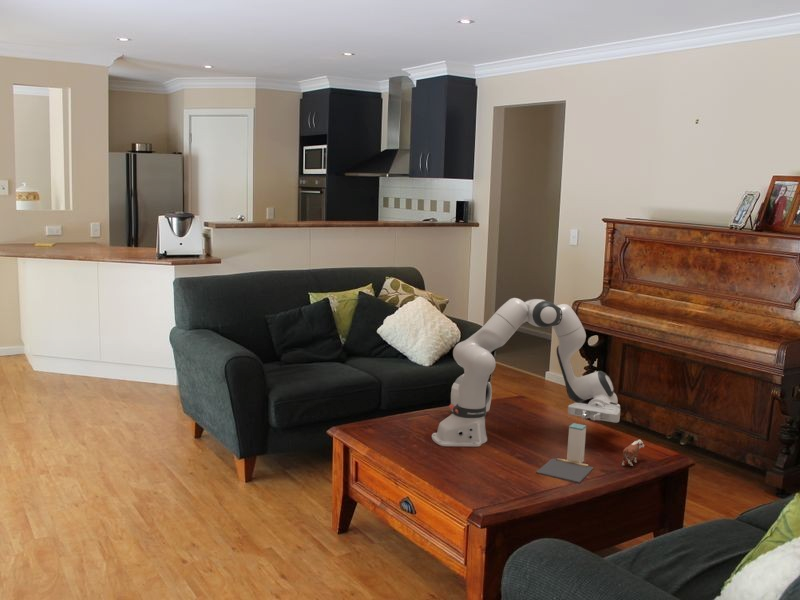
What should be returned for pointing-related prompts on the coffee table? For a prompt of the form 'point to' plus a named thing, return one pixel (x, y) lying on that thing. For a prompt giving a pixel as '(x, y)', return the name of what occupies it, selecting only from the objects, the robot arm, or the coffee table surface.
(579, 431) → the cream block
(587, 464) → the oak stop strip
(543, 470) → the charcoal rubber mat
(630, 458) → the bull figurine
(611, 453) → the coffee table surface
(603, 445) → the coffee table surface
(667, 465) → the coffee table surface
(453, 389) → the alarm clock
